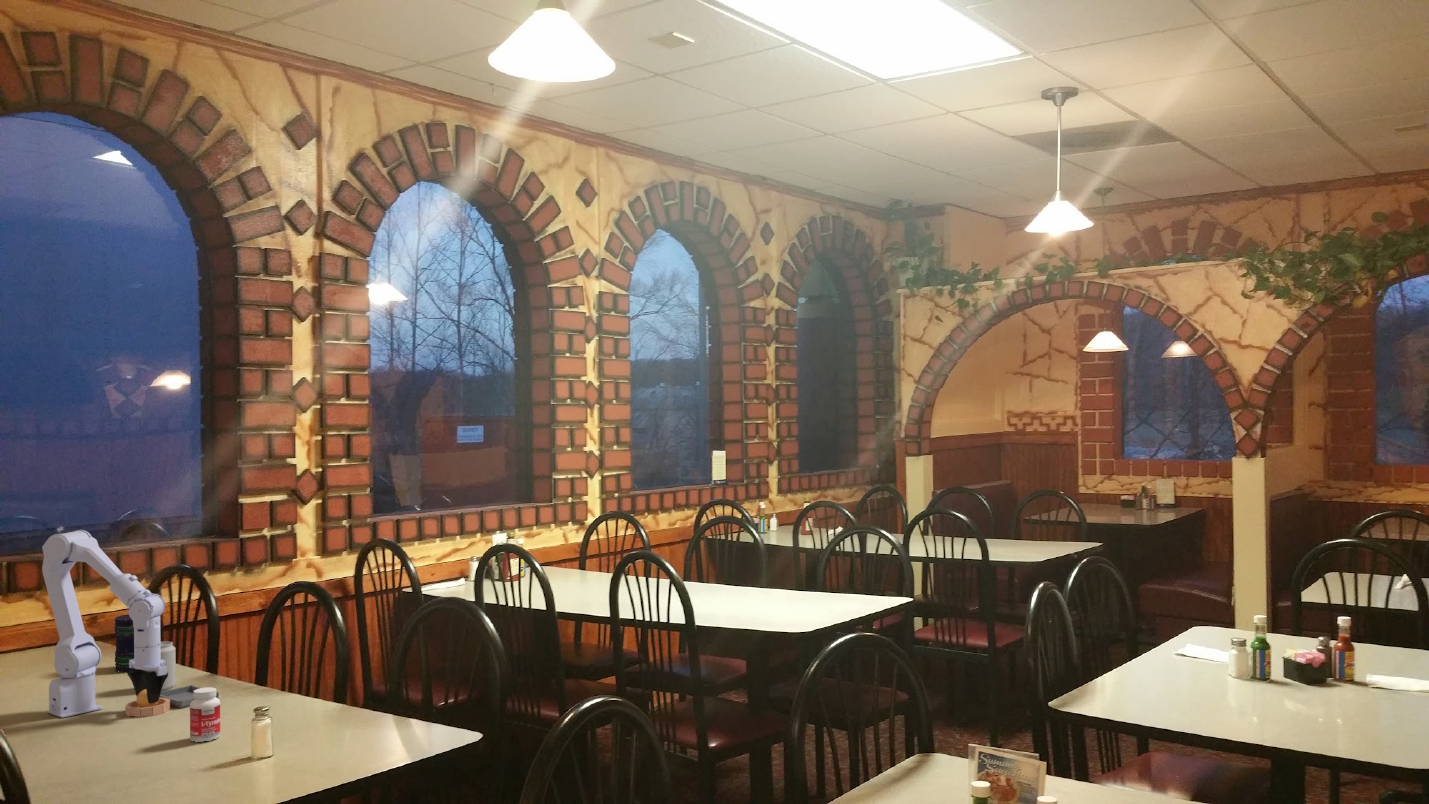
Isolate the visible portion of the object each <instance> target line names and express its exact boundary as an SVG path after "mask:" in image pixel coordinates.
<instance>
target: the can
mask: <svg viewBox="0 0 1429 804" xmlns="http://www.w3.org/2000/svg"><path fill="white" fill-rule="evenodd" d="M173 644H174V642H173V641H161V660H165V663H164V664H163V665H164V666H166V667H167V673H168V677H167V678H166V680H165V682H164V684H163V687H162V690H161V692H163V691H167V690H172V689H174V688H173V687H174V686H175V685H176V684H177V676H176V675H177V674H176V673H177V671H176V670H177V669H176V647H175V646H174V645H173Z"/></svg>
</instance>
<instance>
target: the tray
mask: <svg viewBox="0 0 1429 804" xmlns="http://www.w3.org/2000/svg"><path fill="white" fill-rule="evenodd" d="M200 688H202V687H200V686H197V685H193V684H191V685H186V686H182V687H177V688H176V687H175V688H171V689H168V690H164V691H161V694H160V698H167V699H170V707H173V708H176V709H179V710H181V709H184V708H185V707H186V708H189V707H188V706H190V704H191V702H192V701H193V700H195V698H194V696H193V693H194V690H196V689H200ZM219 696H220V695H219V692H218V691H216V696H215V697H216V698H218V699H219V700H220V697H219Z"/></svg>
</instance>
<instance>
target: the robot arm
mask: <svg viewBox="0 0 1429 804" xmlns="http://www.w3.org/2000/svg"><path fill="white" fill-rule="evenodd" d="M41 548H42V549H41V550H42V553H43V561H42V567H41V569H42V576H43V579H44V583H45V587H46V591H47V594H48V595H47V596H48V599H49V602H50V606H51V610H52V613H53V617H54V621H55V625H56V630H57V633H58V638H59V640H58V642H57V644H56V645H55V647H54V650H53V651H54V658H55V659H54V663H53V665H54V670H55V672H57V674H58V675H59V677H58V678H55V679H52V680H51V681H50V682H49V685H48V711H47V713H48V714H51V715H54V716H56V717H59V718H61V719H63V718H68V717H72V716H76V715H81V714H84V713H85V714H86V713H90V712H93V711H94V712H95V711H98V710H102V709H103V707H104V706H102V705H98V704H96V671H97V666H99V664H100V663H101V661H102V657H103V655H102V652H101V649H100V647H99V646H98V645H97V643H96V642H95V638H94V637H93V636H92V635H91V634H90V633H88V632H86V630H85V625H84V622H83V617H82V614H81V611H80V607H79V603H78V600H77V596H76V593H75V591H76V590H75V589H74V587H75V586H74V584H73V580H72V577H71V573H70V571H71V570H72V568H73V567H74V566H75V564H76V563H79V562H81V563H86V564H87V565H89V567H91V568H92V569H93V570H94V571H96V573H98V575H100V576H101V577H102V578H104V579H105V580H106V581H107V582H108V583H109V584H110V586H109V589H110V592H111V593H112V594H113V595H114V596H115V597H116V598H118V599H119V601H121V603H123V604H124V606H126V608H128V612H127V614H129V616H130V618H131V619H132V620H133V627H134V659H132V660H129V668H134V670H133V671H129V672H127V673H126V674H127V676H128V678H129V680H130V681H131V682H132V686H133V689H134V692H135V696H136V697H137V696H138V694H139V693H140V692H141V691H142V690H144V689H146V690H147V698H148V702H149V703H155V702H158V701H159V698H160V694H161V692H162V691H161V690H162V687H163V684H164V682H165V680H166V678H167V677H168V673H167V667H166V666H164V665H163V664H164V663H165V660H161V642H162V641H161V615H162V614H164V612H165V609H166V603H165V601H164V598H162V596H161V595H160V594H158V593H152V592H151V591H150V589H146V587H144V585H142V583H141V582H139V581H138V579H139V578H138V576H136V575H134V574H133V575H132V574H131V573H123V572H122V571H121V569H119V567H117V565H116V564H115V563H114V562H113V561H112V560H111V559H110V558H109V557H108V555H107V553H105V552H104V551H103V550H102V548H101V547H100V546H99V543H98V540H97V539H96V538H95V537H93V536H92V535H91V533H89V531H86V530H84V529H77V530H75V531H71V532H70V531H68V532H65V533H55V534H52V535H50V536H49V537H48V539H47V540H46V541H45V542H44V544H43V545H42V547H41Z"/></svg>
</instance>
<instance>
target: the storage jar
mask: <svg viewBox="0 0 1429 804" xmlns="http://www.w3.org/2000/svg"><path fill="white" fill-rule="evenodd" d="M114 638H115V652H114V663H115V664H114V666H115V669H114V670H115V672H116V671H119V672H129V671H133V670H134V668H129V660H132V659H134V627H133V620H132V619H131V618H130V616H129V613H127V614H121V615H117V616H116V617H114Z"/></svg>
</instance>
